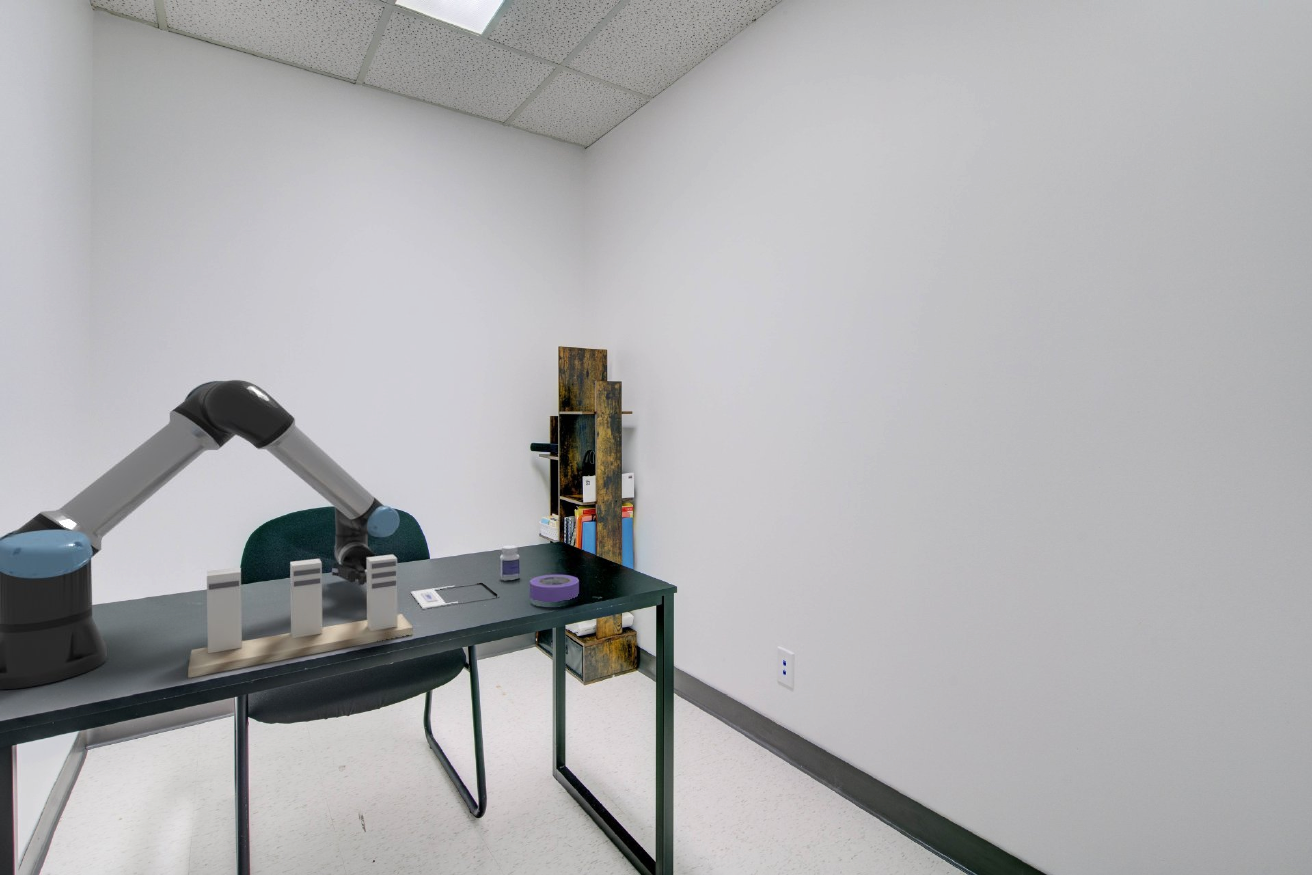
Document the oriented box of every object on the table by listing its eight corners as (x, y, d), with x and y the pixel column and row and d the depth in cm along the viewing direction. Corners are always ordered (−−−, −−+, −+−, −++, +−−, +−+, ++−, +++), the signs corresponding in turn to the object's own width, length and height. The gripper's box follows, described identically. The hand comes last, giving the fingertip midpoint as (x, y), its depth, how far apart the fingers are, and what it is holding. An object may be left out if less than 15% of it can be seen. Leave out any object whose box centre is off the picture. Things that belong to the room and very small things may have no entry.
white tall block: (292, 638, 114) (291, 566, 114) (291, 632, 118) (290, 561, 117) (322, 633, 117) (321, 562, 117) (319, 627, 121) (319, 558, 120)
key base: (188, 677, 101) (188, 669, 101) (191, 657, 109) (191, 649, 109) (412, 634, 122) (412, 627, 122) (401, 620, 130) (401, 613, 130)
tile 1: (207, 653, 107) (206, 576, 107) (208, 646, 110) (207, 571, 110) (241, 647, 110) (240, 572, 109) (241, 640, 113) (240, 567, 113)
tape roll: (569, 591, 153) (569, 571, 153) (585, 604, 143) (585, 583, 143) (524, 597, 148) (524, 577, 148) (537, 611, 138) (537, 589, 138)
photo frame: (410, 590, 150) (482, 580, 159) (410, 595, 150) (482, 584, 159) (422, 606, 137) (500, 595, 147) (422, 611, 137) (500, 599, 147)
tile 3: (370, 631, 119) (370, 561, 118) (367, 625, 122) (366, 557, 122) (397, 626, 122) (397, 558, 121) (393, 620, 125) (392, 554, 125)
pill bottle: (523, 579, 164) (523, 546, 164) (506, 582, 160) (506, 549, 160) (512, 575, 168) (512, 543, 167) (495, 579, 164) (496, 546, 163)
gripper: (385, 571, 153) (405, 594, 134) (327, 578, 146) (339, 604, 126) (385, 542, 153) (405, 561, 133) (327, 548, 146) (339, 569, 126)
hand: (373, 582), depth 130 cm, fingers closed
